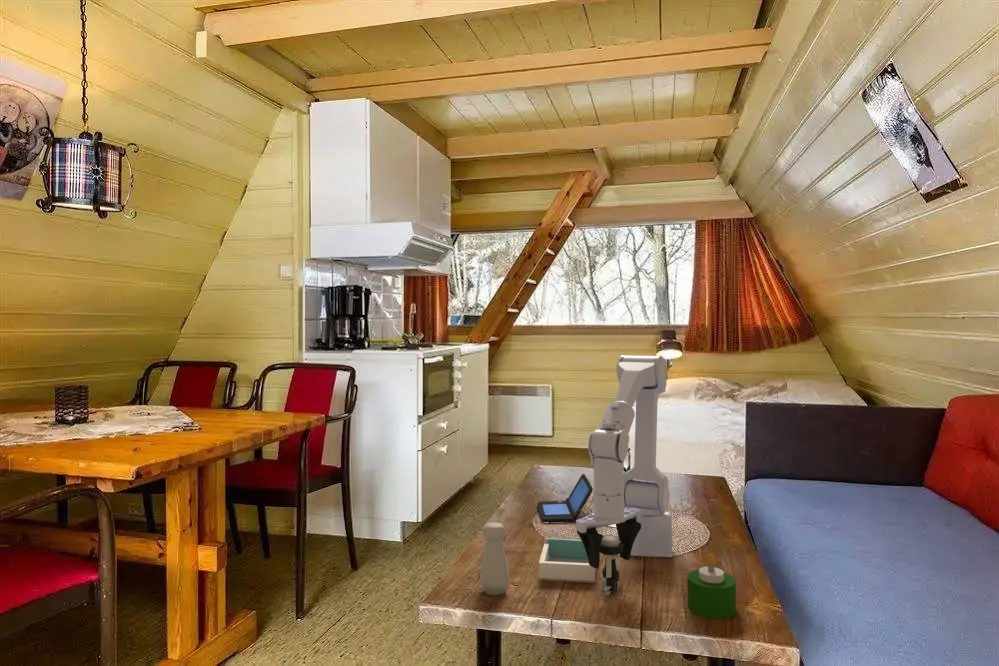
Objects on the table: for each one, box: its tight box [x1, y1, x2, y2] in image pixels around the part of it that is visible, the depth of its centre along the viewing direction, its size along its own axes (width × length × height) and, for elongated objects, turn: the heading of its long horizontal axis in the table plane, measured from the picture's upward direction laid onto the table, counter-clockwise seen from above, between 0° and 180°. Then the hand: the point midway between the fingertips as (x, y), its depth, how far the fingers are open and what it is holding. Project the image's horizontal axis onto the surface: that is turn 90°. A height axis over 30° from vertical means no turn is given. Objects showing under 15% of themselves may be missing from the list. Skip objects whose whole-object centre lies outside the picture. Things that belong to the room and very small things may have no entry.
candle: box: [686, 552, 737, 620], centre depth 113 cm, size 8×8×10 cm
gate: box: [543, 537, 588, 559], centre depth 137 cm, size 11×1×4 cm, turn 78°
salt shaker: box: [479, 522, 511, 596], centre depth 122 cm, size 6×6×13 cm
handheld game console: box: [537, 473, 594, 524], centre depth 169 cm, size 16×13×9 cm
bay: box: [538, 543, 596, 584], centre depth 131 cm, size 11×11×4 cm
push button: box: [600, 534, 624, 596], centre depth 121 cm, size 7×5×10 cm
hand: (609, 562), depth 121 cm, fingers open, 7 cm apart
